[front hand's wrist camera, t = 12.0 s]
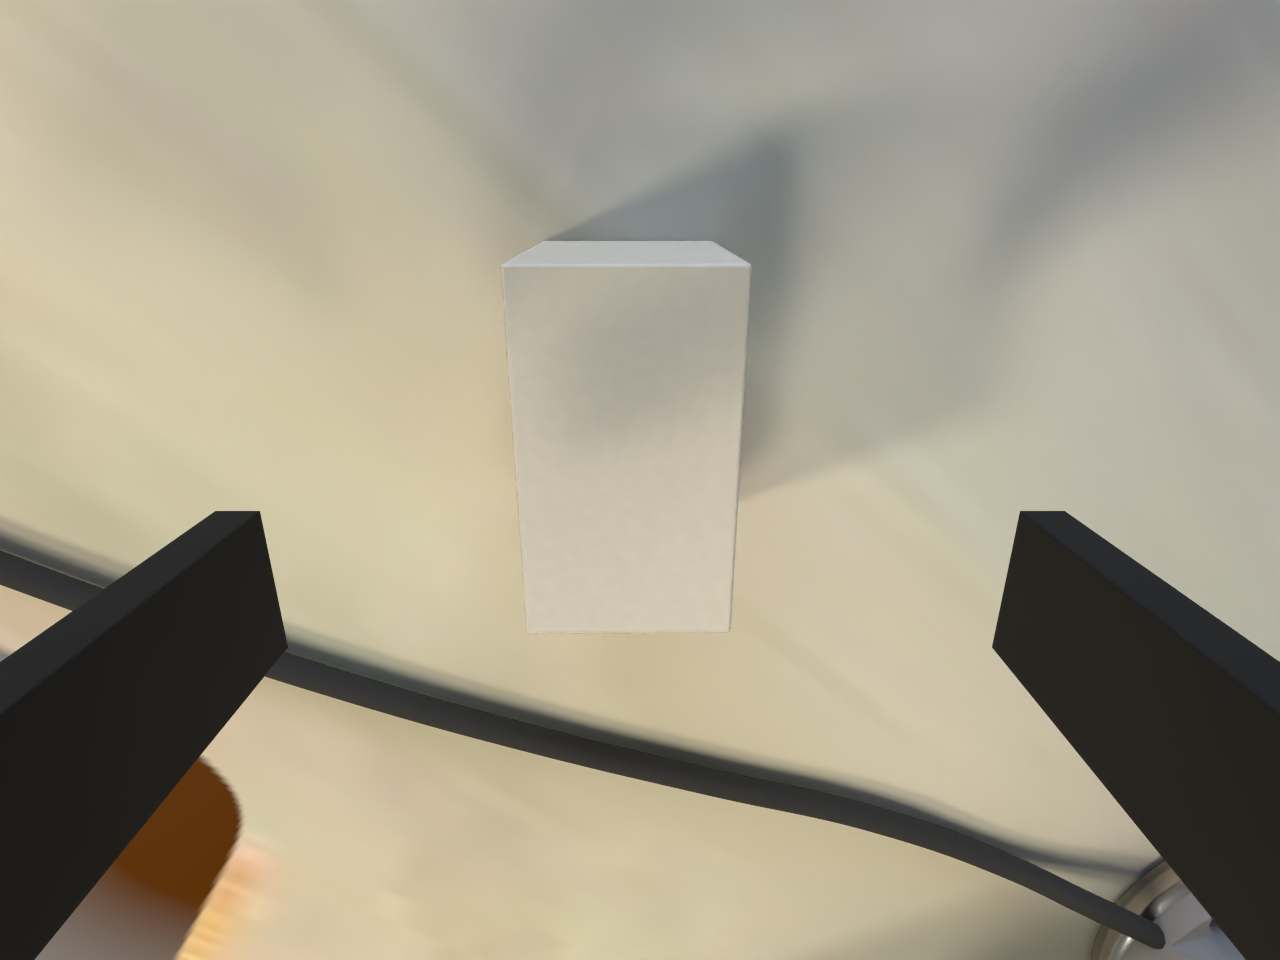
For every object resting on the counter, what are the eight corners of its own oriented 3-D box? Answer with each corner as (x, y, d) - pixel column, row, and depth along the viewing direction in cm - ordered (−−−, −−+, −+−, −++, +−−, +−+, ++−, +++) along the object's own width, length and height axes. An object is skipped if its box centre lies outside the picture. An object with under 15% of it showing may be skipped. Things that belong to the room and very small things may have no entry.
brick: (703, 514, 25) (731, 633, 18) (554, 515, 24) (526, 635, 18) (713, 240, 21) (752, 262, 15) (540, 240, 21) (499, 263, 14)
